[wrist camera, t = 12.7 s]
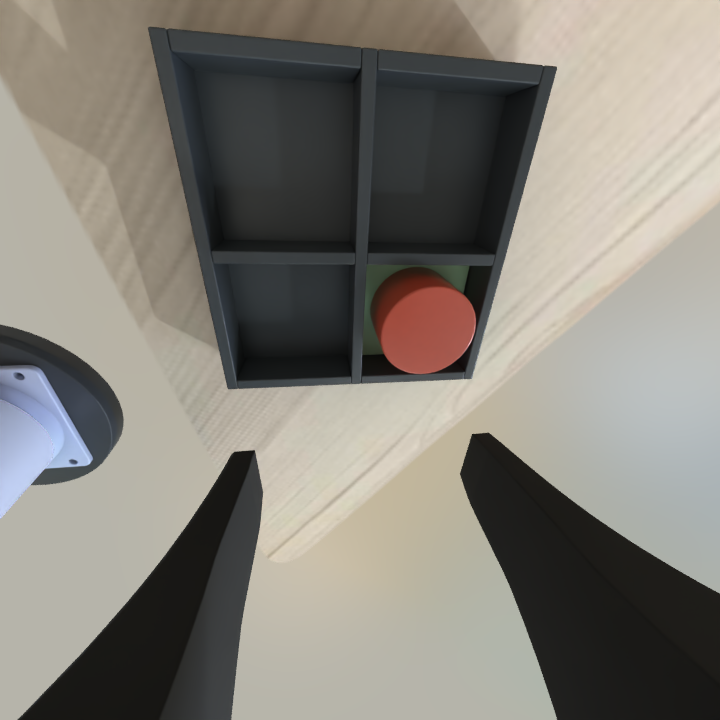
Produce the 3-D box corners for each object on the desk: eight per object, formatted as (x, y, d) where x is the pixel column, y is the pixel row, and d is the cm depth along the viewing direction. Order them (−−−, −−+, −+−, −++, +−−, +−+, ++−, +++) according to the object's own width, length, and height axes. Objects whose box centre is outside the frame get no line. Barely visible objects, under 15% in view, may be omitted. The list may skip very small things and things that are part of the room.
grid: (238, 360, 18) (227, 389, 15) (180, 54, 11) (146, 25, 9) (453, 354, 19) (472, 379, 17) (514, 83, 13) (558, 66, 10)
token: (367, 345, 17) (377, 376, 15) (372, 266, 15) (384, 286, 13) (443, 343, 18) (464, 372, 16) (459, 266, 16) (487, 286, 13)
